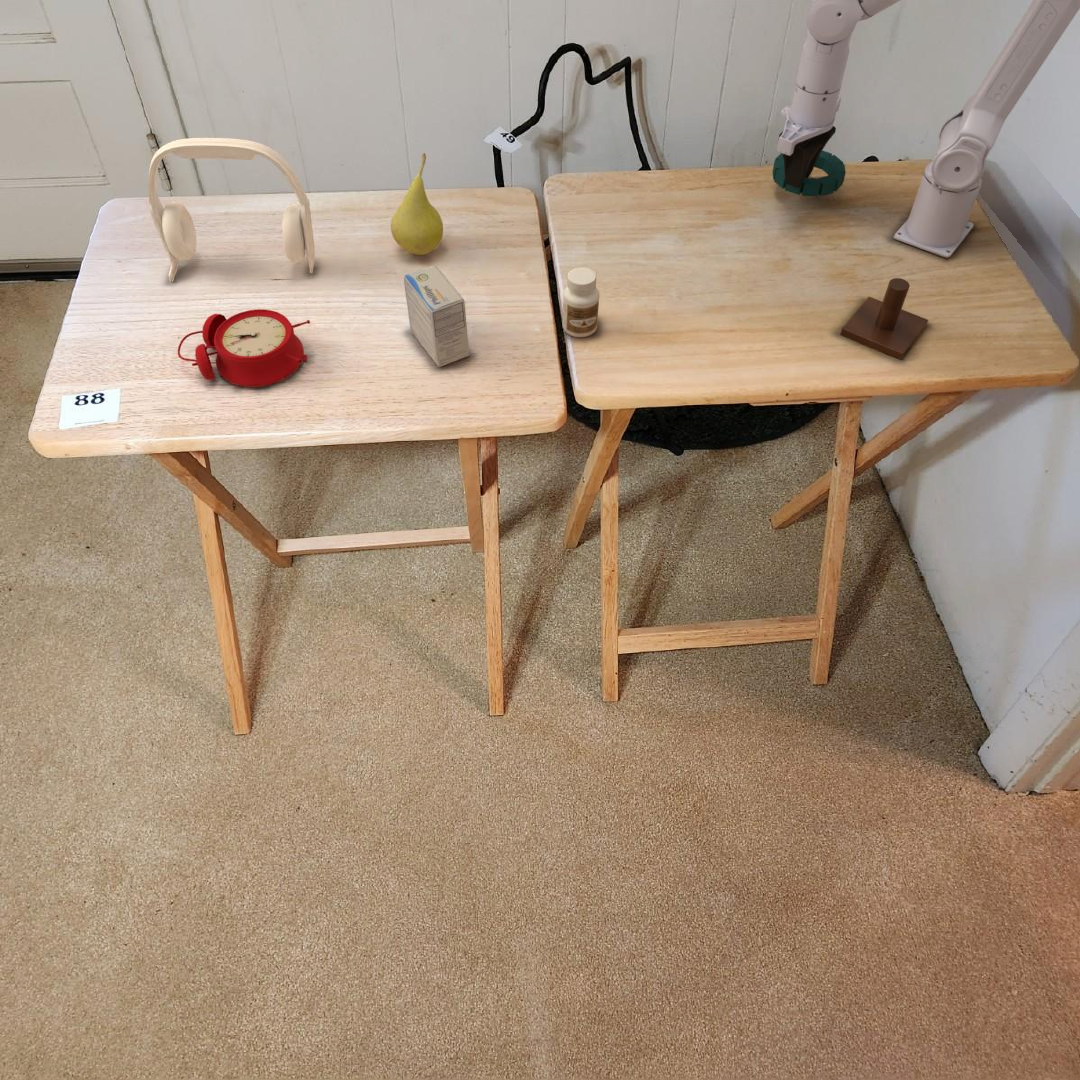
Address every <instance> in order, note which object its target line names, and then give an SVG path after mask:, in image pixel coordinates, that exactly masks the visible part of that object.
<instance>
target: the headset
mask: <svg viewBox="0 0 1080 1080" xmlns="http://www.w3.org/2000/svg"><path fill="white" fill-rule="evenodd" d="M170 154H174V155H175V156H176V157H179V158H182V159H201V160H203V159H205V160H207V159H209V160H210V159H211V160H212V159H215V160H235V161H237V160H239V161H250V160H253V159H256V158H257V156H258V155H259V156H260V157H262V158H265V159H266V160H268V161H269V162H271V163H272V164H273V165H274V166H275V167H276V168H277V169H278V170H279V171H280V172H281V173H282V175H283V176H284V177H285V179H286V180H287V182H288V183H289V185H290V187H291V188H292V190H293V192H294V194H295V197H296V198H297V200H298V202H299V205H298V204H296V203H291V204H288V205H287V206H286V207H285V209H284V211H283V215H282V223H281V237H282V238H281V239H282V246H283V247H282V248H283V252H284V254H285V257H286V258H287V260H288V261H290V262H291V263H295V264H296V263H300V262H302V261H303V260H304V258H305V256H306V258H307V261H308V265H309V266H308V268H309V273H310V274H313V273H314V266H315V258H316V252H315V251H316V250H315V241H314V232H313V223H312V222H313V221H312V212H311V207H310V206H311V205H310V200H309V198H308V196H307V194H306V192H305V189H304V187H303V186H302V183H301V182H300V180H299V178H298V176H297V174H296V173H295V171H294V169H293V168H292V167H291V165H290V164H289V163H288V162H287V160H286V159H285V158H284V157H283V156H282V155H281V154H280V153H278V152H277V151H276V150H274V149H273V148H271V147H269V146H267V145H265V144H263V143H260V142H257V141H252V140H247V139H241V138H226V137H190V138H181V139H176V140H173V141H170V142H168V143H166V144H164V145H162V146H161V147H160V148H159V149H157V150H156V152H155V153H154V155H153V156H152V158H151V162H150V165H149V168H148V182H147V183H148V187H147V188H148V189H147V190H148V204H149V212H150V216H151V218H152V221H153V223H154V226H155V229H156V231H157V233H158V235H159V238H160V240H161V243H162V245H163V247H164V249H165V252H166V254H167V257H168V260H169V264H170V265H169V266H170V268H169V271H168V279H169V281H170V282H174V281H175V277H176V275H177V271H178V268H179V263H180V261H188V260H190V259H192V258H193V257H194V255H195V254H196V250H197V232H196V228H195V227H196V226H195V223H194V220H193V217H192V215H191V213H190V211H189V210H188V208H187V207H186V206H185V205H184V204H183V203H181V202H178V201H170V202H168V203H167V204H165V206H164V205H163V203H162V201H161V199H160V197H159V196H158V186H157V185H158V183H157V180H158V172H159V171H158V170H159V167H160V163H161V162H162V160H163V159H164V158H165V157H167V156H168V155H170Z"/></svg>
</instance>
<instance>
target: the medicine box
mask: <svg viewBox="0 0 1080 1080" xmlns="http://www.w3.org/2000/svg"><path fill="white" fill-rule="evenodd" d="M403 285H404V292H405V298H406V306H407V314H408V315H407V316H408V320H409V328H410V333H412V335H413V336H414V337H415V339H416V340H417V341H418V342H419V344H420V345H421V346H422V348H423V349H424V350H425V352H426V353H427V355H429V357H430V358H431V359H432V361H433V362H434V363H435V365H436V366H437V368H441V367H443V366H446V365H449V364H451V363H454V362H456V361H459V360H461V359H465V358H467V357H470V347H469V335H468V324H467V323H468V322H467V313H466V304H465V303H466V302H465V299H464V298H463V296H461V293H459V292H458V290H457V289H456V288H455V287H454V286H453V285H452V283H451V282H450V281H449V280H448V279H447V277H446V276H445V275H444V274H443V272H442V271H441V270H440V269H439V268H438V266H437V265H432V266H427V267H425V268H421V269H418V270H416V271H415V270H414V271H412V272H410V273H407V274H405V275H403Z"/></svg>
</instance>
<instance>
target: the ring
mask: <svg viewBox="0 0 1080 1080" xmlns="http://www.w3.org/2000/svg"><path fill="white" fill-rule="evenodd" d="M814 168H816V169H819V170H822V171H823V172H824V173H825V174H826V175H825V176H820V177H809V178H804V180H803V182H802V184H801V185H800V187H799V188H797V187H794V186H791V185H788V184H786V183H785V169H784V158H783V154H782V153H779V154H778V155H777V156H776V157H775V158H774V161H773V167H772V180H774V181H773V182H774V183H775V184H776V185H777V186H778V187H780V188H781V189H782V190H784V191H786V192H788V193H791V194H794V195H797V196H800V195H801V197H811V198H813V197H816V198H817V197H824V196H828V195H832V194H834V192H837V191H838V190H839V189H840V188H841V187H842V186H843V184H844V179H845V177H846V173H847V171H846V164H845V163H844V161H843V160H842V159H840V158H839V157H838V156H837V155H835V154H833V153H831V152H828V151H825V150H824V149H823V150H822V152H821V154H820V156H819V158H818V160H817V162H816V164H815V166H814Z"/></svg>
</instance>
